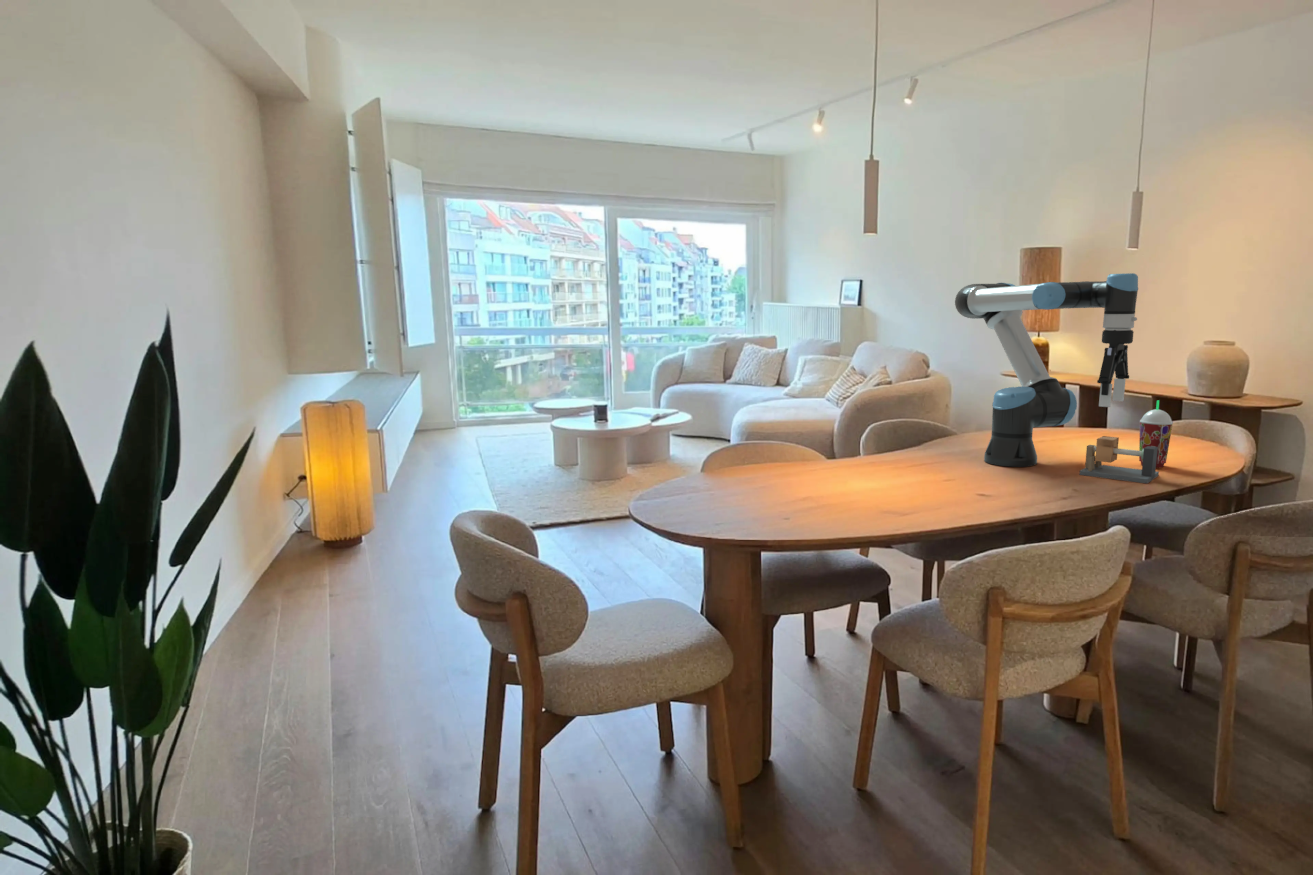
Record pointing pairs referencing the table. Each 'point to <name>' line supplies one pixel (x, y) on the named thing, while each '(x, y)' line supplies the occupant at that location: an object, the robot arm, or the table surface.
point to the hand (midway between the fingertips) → (1111, 403)
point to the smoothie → (1156, 433)
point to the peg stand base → (1123, 473)
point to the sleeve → (1106, 449)
